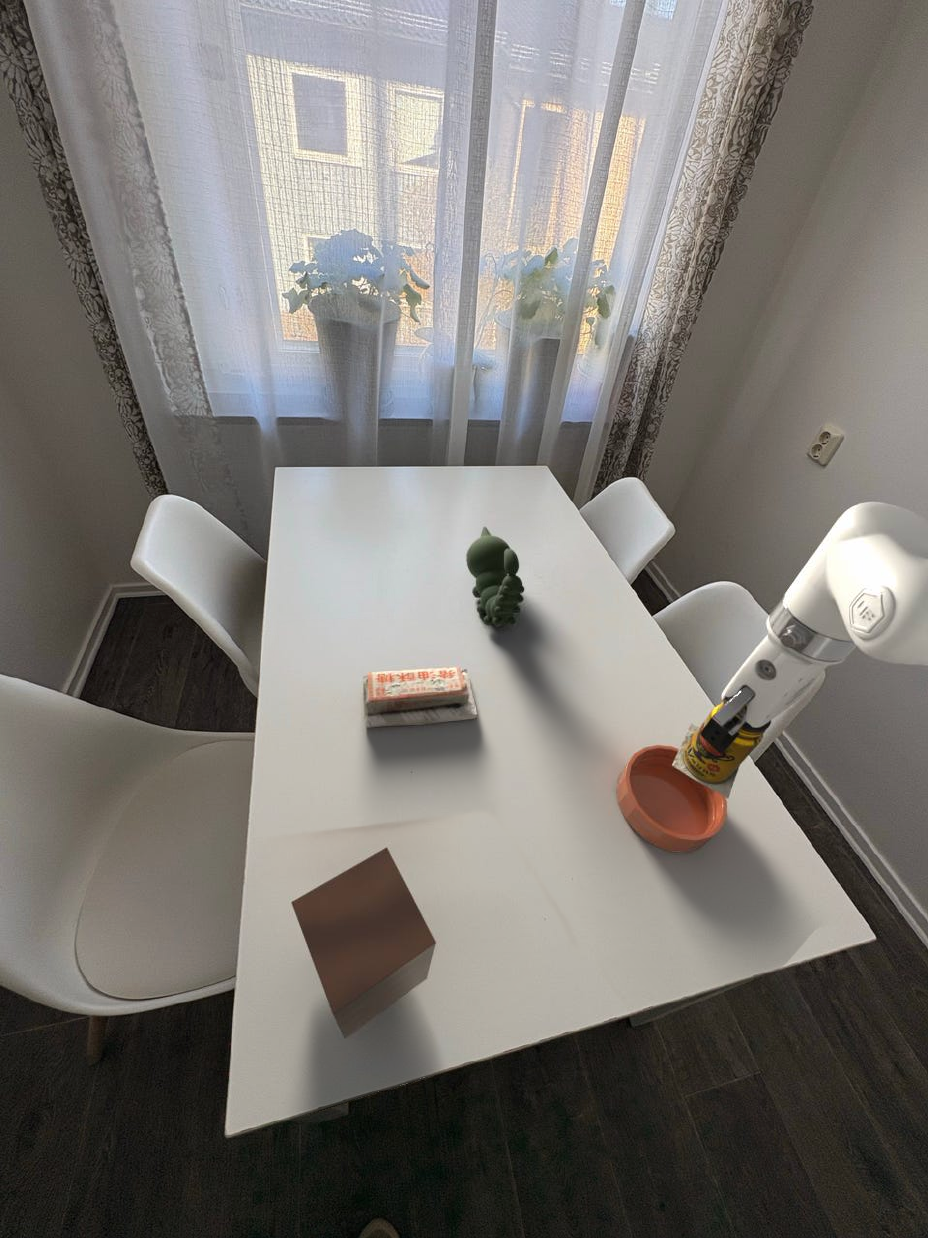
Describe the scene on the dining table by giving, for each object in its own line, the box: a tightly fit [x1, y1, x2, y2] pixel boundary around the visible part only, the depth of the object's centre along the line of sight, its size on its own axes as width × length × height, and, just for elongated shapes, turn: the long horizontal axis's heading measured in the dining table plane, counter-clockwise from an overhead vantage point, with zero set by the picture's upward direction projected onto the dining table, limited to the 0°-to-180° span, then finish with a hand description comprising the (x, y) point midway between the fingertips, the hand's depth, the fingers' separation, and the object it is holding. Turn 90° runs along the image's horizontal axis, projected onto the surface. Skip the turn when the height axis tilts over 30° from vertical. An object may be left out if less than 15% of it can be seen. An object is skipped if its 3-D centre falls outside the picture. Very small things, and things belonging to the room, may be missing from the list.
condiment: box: [672, 701, 772, 800], centre depth 63 cm, size 7×8×12 cm
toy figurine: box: [465, 526, 525, 627], centre depth 99 cm, size 9×19×25 cm
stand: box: [290, 847, 437, 1039], centre depth 53 cm, size 10×10×16 cm
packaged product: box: [362, 666, 478, 729], centre depth 84 cm, size 18×5×10 cm
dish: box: [616, 744, 728, 853], centre depth 75 cm, size 14×14×4 cm
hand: (729, 730), depth 62 cm, fingers closed on condiment, 6 cm apart
